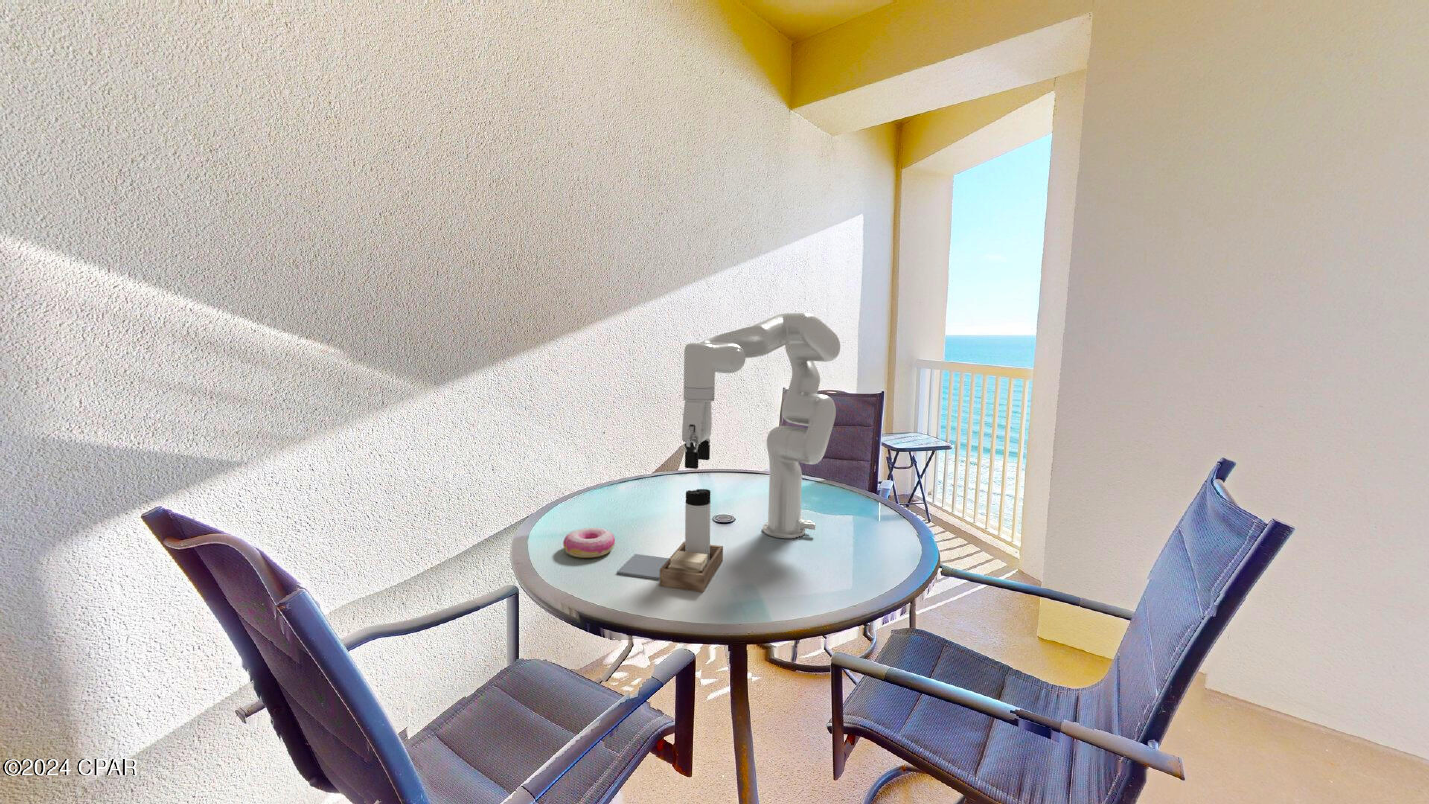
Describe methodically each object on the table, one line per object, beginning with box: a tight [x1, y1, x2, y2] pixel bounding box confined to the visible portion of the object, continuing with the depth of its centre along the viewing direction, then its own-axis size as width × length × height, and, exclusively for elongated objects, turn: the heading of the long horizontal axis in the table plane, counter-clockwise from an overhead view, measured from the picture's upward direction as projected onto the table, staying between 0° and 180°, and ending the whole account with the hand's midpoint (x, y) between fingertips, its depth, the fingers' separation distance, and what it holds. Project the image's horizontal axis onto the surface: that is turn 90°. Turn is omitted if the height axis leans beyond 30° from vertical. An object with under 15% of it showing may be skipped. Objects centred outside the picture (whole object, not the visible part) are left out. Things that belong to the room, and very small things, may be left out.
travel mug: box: [684, 488, 712, 567], centre depth 134 cm, size 6×7×20 cm
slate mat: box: [616, 553, 670, 581], centre depth 134 cm, size 11×11×1 cm
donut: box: [562, 527, 616, 559], centre depth 143 cm, size 14×13×5 cm
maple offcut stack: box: [668, 551, 708, 573], centre depth 127 cm, size 8×5×6 cm, turn 75°
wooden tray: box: [659, 540, 724, 593], centre depth 131 cm, size 11×18×4 cm, turn 165°
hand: (697, 463), depth 132 cm, fingers open, 9 cm apart
